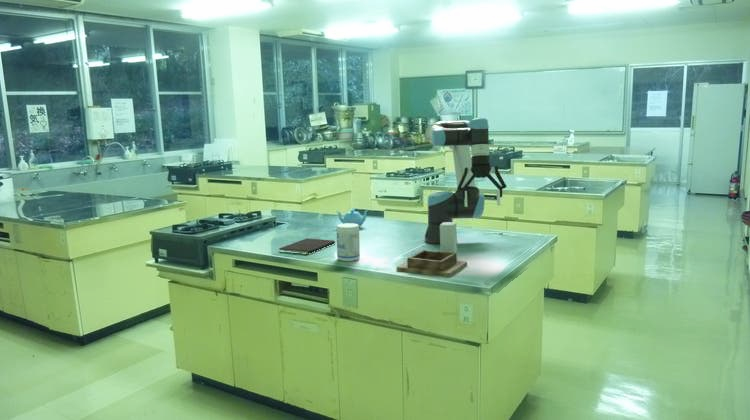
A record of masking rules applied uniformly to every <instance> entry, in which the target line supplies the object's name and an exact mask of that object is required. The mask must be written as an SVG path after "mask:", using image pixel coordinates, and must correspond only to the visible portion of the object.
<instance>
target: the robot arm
mask: <svg viewBox="0 0 750 420" xmlns="http://www.w3.org/2000/svg"><path fill="white" fill-rule="evenodd" d="M424 131H425V132H424V136H425V138H426V140H427V141H428V142H430V143H431V144H432V146H434V147H448V148H449V149H450V150H452V155H453V163H454V164H453V165H454V173H455V180H456V190H455V192H454V193H453V191H451V190H444V191H437V192H433V193H430V194H429V195H428V196H427V227H426V229H425V230H426V231H425V234H424V242H425V243H428V244H432V245H433V244H435V245H440V225H441V223H443V222H454V221H453V220H454V219H476V218H477V219H478V218H481V217H482V216H483V214H484V211H485V198H486V197H485V193H483V192H480V189H479V187H477V186H476V182H475V178H476V179H477V178H478V179H480V178H482V179H484V178H487V179H489V180H490V182H491V184H493V185H494V186H495V187H496V189H497V190H496V203H497V204H496V205H497V206H501V198H503V190H504V189H506V188H507V184H506V182H505V181H504V179H503V177H502V175H501V174H500V172H499V168H498V166H497V165H495V166H492V167H491V162H490V161H491V160H490V141H489V138H490V137H489V135H490V133H489V120H488V119H487V118H484V117H479V118H472V119H471V120H465V119H463V120H462V119H461V120H439V121H436V122H432V123H431V124H429V125H428V126H427V127H426V129H425V130H424ZM491 171H492V173H494V174H495V176H496V178H497V180H498V181H499V182H497V180H496V179H495V178H494V177H493V176H492V175H491V173H490V172H491ZM499 183H500V184H499Z"/></svg>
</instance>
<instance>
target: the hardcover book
mask: <svg viewBox="0 0 750 420" xmlns="http://www.w3.org/2000/svg"><path fill="white" fill-rule="evenodd" d="M334 243H335V244H336V241H335V240H331V239H320V238H303V239H301V240H299V241H296V242H292V243H290V244H287V245H285V246H282V247H279V248H278V250H279V251H280V250H284V251H291V252H299V253H306V254H309V253H312V252H314V251H317V250H319V249H322V248H324V247H327V246H329V245H332V244H334ZM335 244H334V245H335ZM332 246H333V245H332ZM329 247H330V246H329ZM327 248H328V247H327ZM324 249H325V248H324ZM322 250H323V249H322ZM317 252H318V251H317ZM312 254H313V253H312Z"/></svg>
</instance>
